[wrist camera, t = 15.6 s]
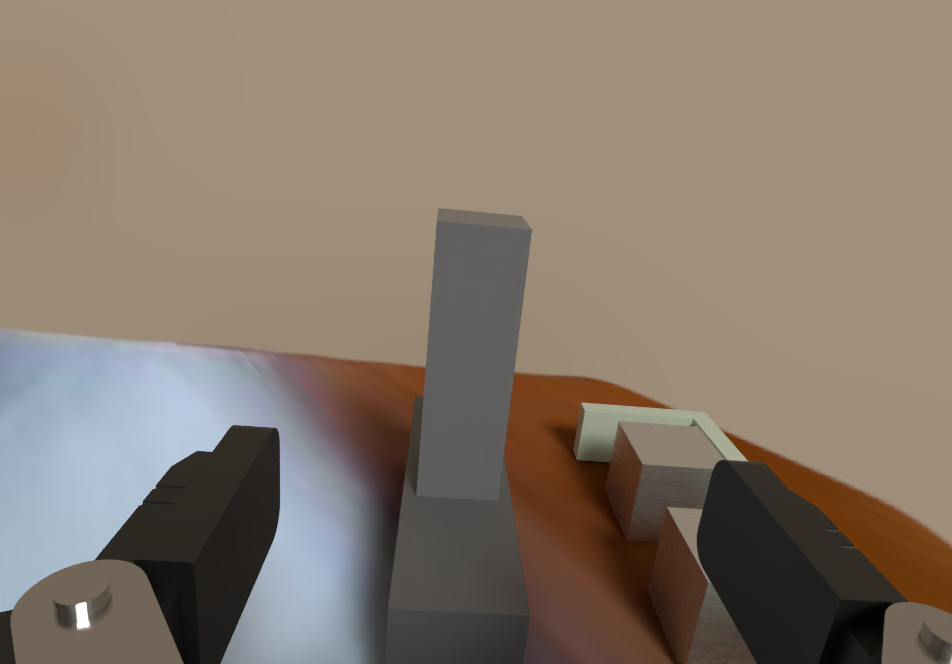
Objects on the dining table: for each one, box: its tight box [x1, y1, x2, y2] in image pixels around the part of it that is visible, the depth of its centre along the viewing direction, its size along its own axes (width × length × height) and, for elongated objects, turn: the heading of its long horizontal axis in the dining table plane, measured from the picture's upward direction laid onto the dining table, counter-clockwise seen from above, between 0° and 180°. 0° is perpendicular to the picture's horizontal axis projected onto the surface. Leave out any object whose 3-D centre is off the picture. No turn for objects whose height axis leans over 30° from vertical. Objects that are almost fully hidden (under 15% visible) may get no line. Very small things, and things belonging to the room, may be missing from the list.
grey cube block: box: [605, 421, 724, 543], centre depth 29 cm, size 4×4×4 cm
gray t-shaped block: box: [384, 209, 532, 664], centre depth 23 cm, size 4×14×14 cm, turn 2°
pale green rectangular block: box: [573, 403, 747, 462], centre depth 25 cm, size 7×19×3 cm, turn 2°
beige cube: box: [647, 507, 757, 664], centre depth 22 cm, size 4×4×4 cm
